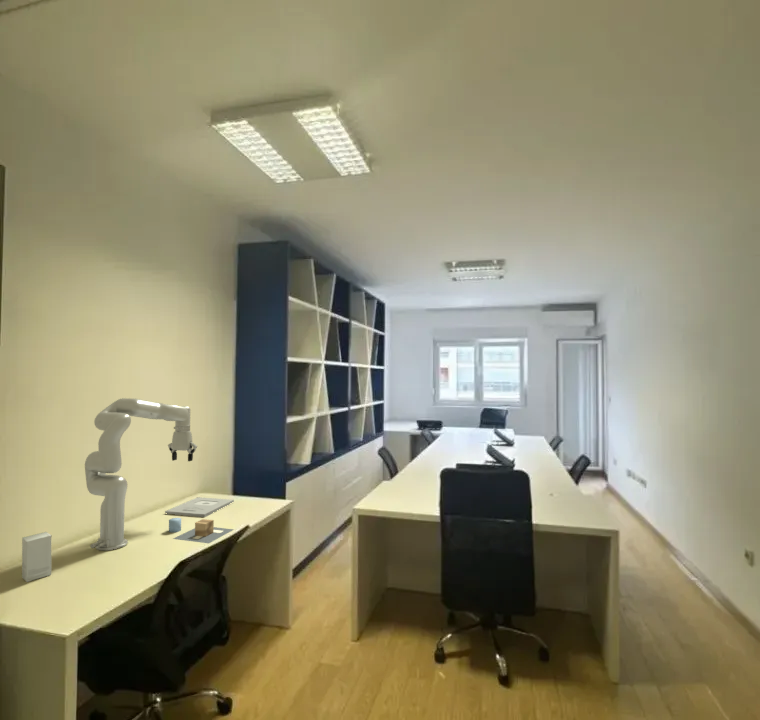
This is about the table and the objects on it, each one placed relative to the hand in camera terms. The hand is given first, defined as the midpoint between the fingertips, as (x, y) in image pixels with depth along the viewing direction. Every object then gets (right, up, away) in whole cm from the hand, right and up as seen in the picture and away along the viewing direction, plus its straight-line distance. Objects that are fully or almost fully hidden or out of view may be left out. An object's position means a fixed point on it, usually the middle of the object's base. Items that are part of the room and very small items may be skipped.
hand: (182, 460), depth 257 cm
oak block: (+23, -29, -29) cm, 47 cm away
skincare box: (-25, -29, -75) cm, 84 cm away
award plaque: (+4, -32, +16) cm, 36 cm away
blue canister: (+6, -30, -24) cm, 39 cm away
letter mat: (+23, -30, -29) cm, 47 cm away
